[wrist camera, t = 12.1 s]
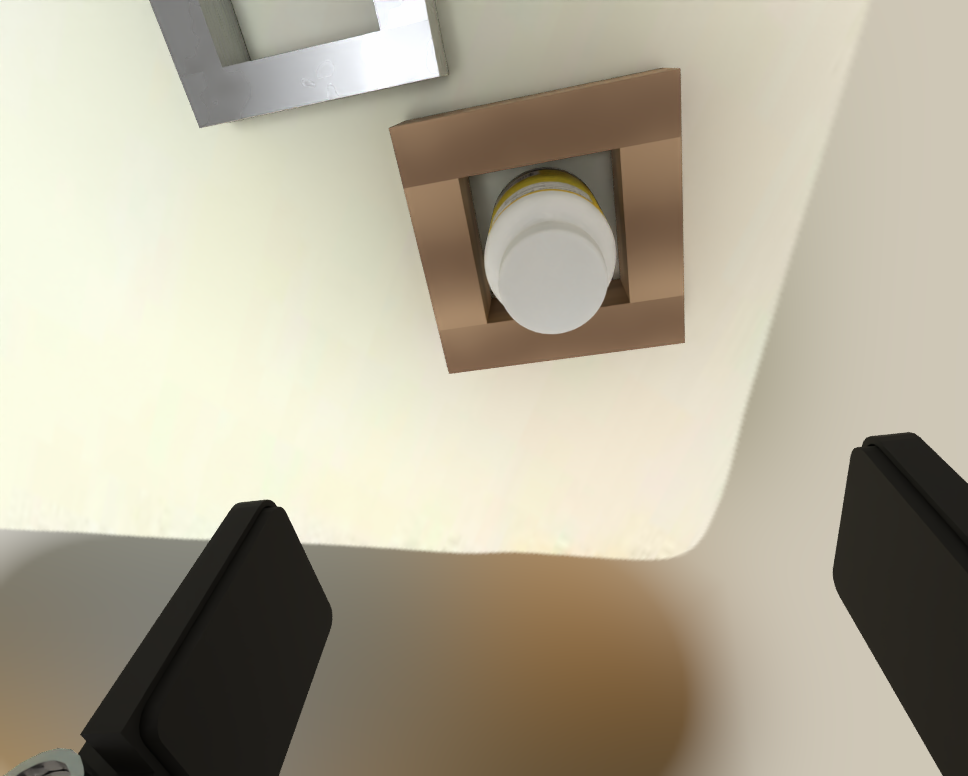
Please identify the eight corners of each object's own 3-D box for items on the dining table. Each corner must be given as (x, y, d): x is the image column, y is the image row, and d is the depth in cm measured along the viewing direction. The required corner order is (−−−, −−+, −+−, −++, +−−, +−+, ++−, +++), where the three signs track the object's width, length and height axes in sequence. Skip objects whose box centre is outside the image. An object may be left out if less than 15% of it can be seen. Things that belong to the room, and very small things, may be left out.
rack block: (404, 120, 27) (388, 128, 24) (662, 67, 25) (680, 68, 22) (456, 345, 33) (448, 373, 30) (669, 315, 31) (684, 342, 28)
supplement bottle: (582, 281, 30) (602, 365, 22) (483, 261, 30) (465, 337, 22) (612, 177, 28) (648, 227, 19) (504, 154, 27) (491, 194, 19)
